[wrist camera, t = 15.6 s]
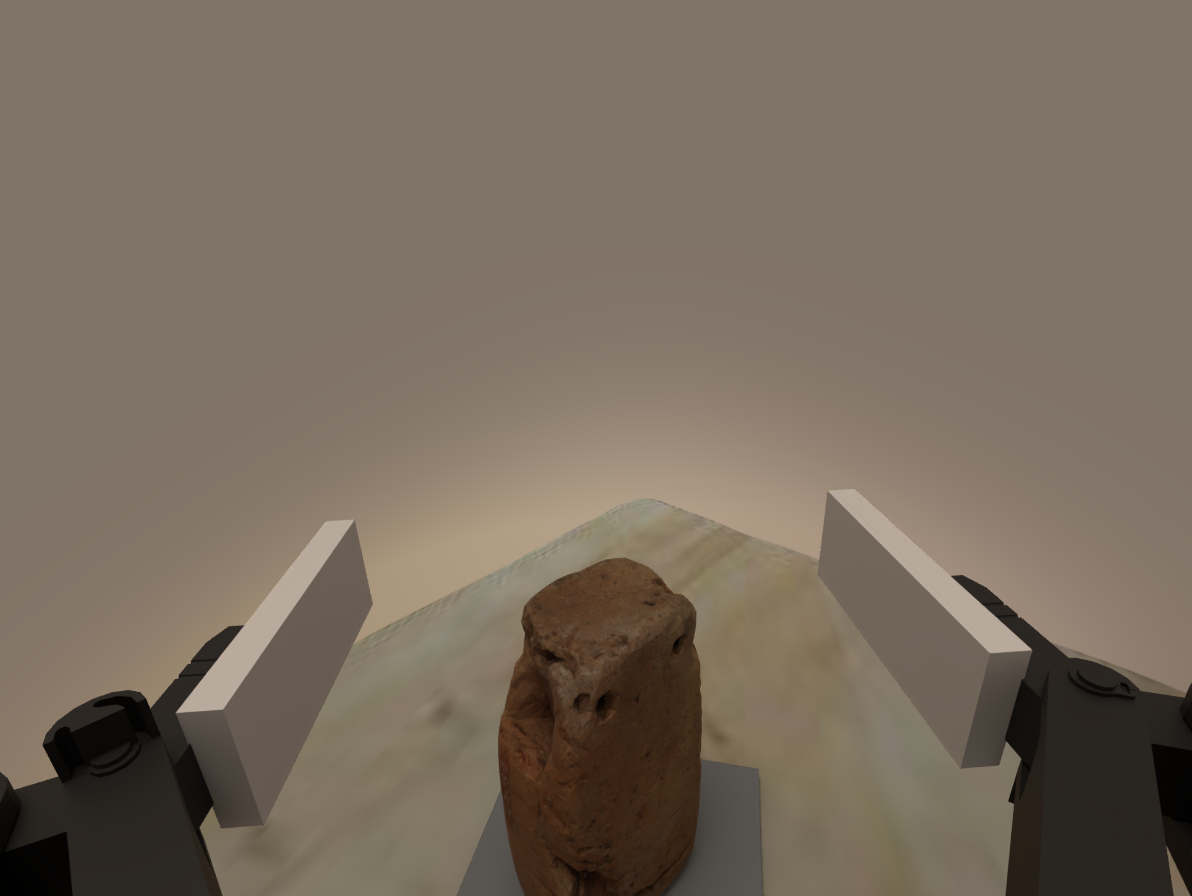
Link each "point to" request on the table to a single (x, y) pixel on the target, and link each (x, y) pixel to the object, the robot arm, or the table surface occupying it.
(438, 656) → the table surface
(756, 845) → the mat
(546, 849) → the block
